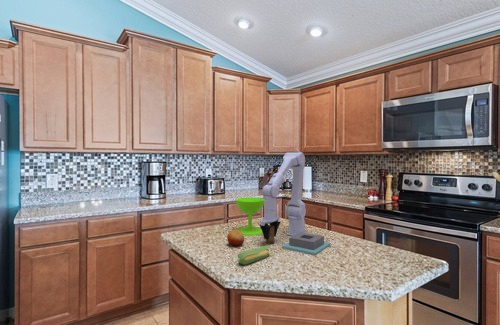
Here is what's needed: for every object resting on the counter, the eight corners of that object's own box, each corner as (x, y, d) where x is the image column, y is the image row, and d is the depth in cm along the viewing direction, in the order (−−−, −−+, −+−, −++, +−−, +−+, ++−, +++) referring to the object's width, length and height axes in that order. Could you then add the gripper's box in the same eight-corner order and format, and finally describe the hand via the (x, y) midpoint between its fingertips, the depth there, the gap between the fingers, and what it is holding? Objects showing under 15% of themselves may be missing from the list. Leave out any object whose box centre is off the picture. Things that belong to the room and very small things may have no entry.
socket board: (299, 239, 145) (299, 230, 145) (330, 244, 136) (330, 235, 136) (282, 248, 131) (282, 238, 131) (315, 255, 121) (315, 244, 121)
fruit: (233, 237, 142) (239, 225, 139) (243, 249, 138) (249, 236, 134) (220, 241, 137) (226, 228, 134) (230, 253, 132) (236, 240, 129)
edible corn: (233, 253, 111) (240, 252, 108) (267, 244, 125) (275, 243, 122) (235, 267, 110) (243, 266, 107) (269, 256, 124) (277, 255, 121)
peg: (268, 241, 142) (268, 224, 142) (275, 242, 140) (275, 226, 140) (264, 243, 139) (264, 226, 139) (271, 244, 137) (271, 227, 136)
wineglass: (261, 227, 169) (261, 197, 169) (266, 235, 153) (267, 201, 153) (234, 228, 167) (234, 197, 167) (236, 236, 151) (237, 201, 151)
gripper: (271, 206, 147) (270, 233, 147) (254, 211, 136) (254, 239, 136) (283, 208, 143) (282, 235, 143) (267, 212, 131) (267, 242, 132)
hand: (270, 237), depth 139 cm, fingers open, 6 cm apart
